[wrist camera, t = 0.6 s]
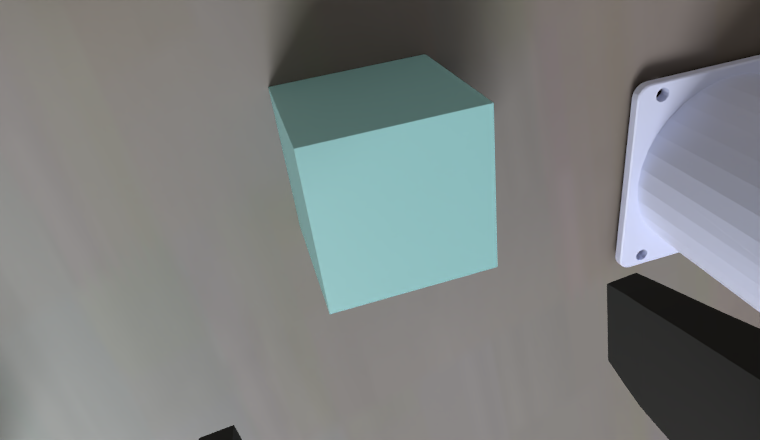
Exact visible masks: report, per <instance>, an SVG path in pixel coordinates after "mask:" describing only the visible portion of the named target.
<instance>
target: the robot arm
mask: <svg viewBox="0 0 760 440" xmlns="http://www.w3.org/2000/svg"><path fill="white" fill-rule="evenodd" d="M660 89H662V91H661V94H660V95H659V96H658V97H657V98H656V96H657V93H658V92H659V90H660ZM639 251H640V252H639ZM638 252H639V253H638ZM678 252H680V253H681V254H683V255H684V256H685V257H687V258H688V259H689V260H691V261H692V262H693V263H695V264H696V265H697V266H699V267H700V268H701V269H703V270H704V271H705V272H707V273H708V274H709V275H711V276H712V277H713V278H715V279H716V280H717V281H719V282H720V283H721V284H723V285H724V286H725V287H727V288H728V289H729V290H731V291H732V292H733V293H735V294H736V295H737V296H739V297H740V298H741V299H743V300H744V301H745V302H747V303H748V304H749V305H751V306H752V307H753V308H755V309H756V310H757V311H759V312H760V55H756V56H752V57H748V58H744V59H739V60H735V61H731V62H727V63H722V64H718V65H714V66H709V67H705V68H701V69H697V70H692V71H688V72H684V73H680V74H675V75H671V76H667V77H663V78H658V79H654V80H650V81H646V82H643V83H641V84H640V85H639V86H638V87H637V88H636V89H635V91H634V92H633V96H632V102H631V112H630V122H629V131H628V141H627V150H626V160H625V170H624V179H623V189H622V198H621V208H620V218H619V227H618V237H617V247H616V256H615V257H616V261H617V262H618V263H619V264H620V265H621V266H623V267H631V266H634V265H637V264H641V263H644V262H648V261H651V260H654V259H658V258H661V257H664V256H668V255H671V254H675V253H678ZM637 253H638V254H637ZM607 309H608V360H609V362H610V363H611V365H612V366H613V368H614V369H615V371H616V372H617V374H618V375H619V377H620V378H621V380H622V381H623V383H624V384H625V386H626V387H627V388H628V390H629V391H630V393H631V394H632V395H633V397H634V398H635V400H636V401H637V402H638V404H639V405H640V407H641V408H642V409H643V410H644V411H645V412H646V414H647V415H648V416H649V417H650V418H651V419H652V421H653V422H654V423H655V424H656V425H657V426H658V427H659V428H660V430H661V431H662V432H663V433H664V434H665V435H666V436H667V438H668V439H669V440H760V329H759V328H757V327H754V326H752V325H750V324H748V323H745V322H743V321H741V320H738V319H736V318H734V317H732V316H730V315H727V314H725V313H723V312H721V311H718V310H716V309H714V308H712V307H710V306H707V305H705V304H703V303H701V302H699V301H697V300H694V299H692V298H690V297H688V296H686V295H684V294H681V293H679V292H677V291H675V290H673V289H671V288H669V287H666V286H664V285H662V284H660V283H658V282H656V281H653V280H651V279H649V278H647V277H644V276H642V275H640V274H638V273H635V274H632V275H629V276H627V277H624V278H621V279H619V280H616V281H614V282H611V283H608V284H607ZM199 440H242V439H241V437H240V435H239V434H238V432H237V430H236V428H235V426H234V425H233V426H230V427H227V428H225V429H222V430H220V431H217V432H214V433H212V434H209V435H206V436H204V437H201V438H199Z"/></svg>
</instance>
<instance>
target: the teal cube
mask: <svg viewBox="0 0 760 440" xmlns="http://www.w3.org/2000/svg"><path fill="white" fill-rule="evenodd" d="M268 88H269V92H270V97H271V101H272V105H273V110H274V114H275V118H276V123H277V127H278V132H279V136H280V140H281V145H282V149H283V153H284V158H285V162H286V166H287V171H288V175H289V180H290V184H291V188H292V193H293V197H294V201H295V206H296V210H297V214H298V219H299V223H300V227H301V230H302V233H303V236H304V239H305V242H306V245H307V248H308V251H309V254H310V257H311V260H312V263H313V266H314V269H315V272H316V275H317V278H318V281H319V284H320V287H321V290H322V292H323V295H324V298H325V301H326V304H327V307H328V310H329V313H330V314H333V313H336V312H340V311H343V310H347V309H350V308H354V307H357V306H361V305H364V304H368V303H371V302H375V301H379V300H382V299H386V298H389V297H393V296H396V295H400V294H403V293H407V292H410V291H414V290H417V289H421V288H425V287H428V286H432V285H435V284H439V283H442V282H446V281H449V280H453V279H456V278H460V277H463V276H467V275H470V274H474V273H478V272H481V271H485V270H488V269H492V268H495V267H497V226H496V183H495V141H494V103H493V102H492V101H490V100H489V99H487V98H486V97H485V96H483V95H482V94H480V93H479V92H478V91H476V90H475V89H473V88H472V87H471V86H469V85H468V84H466V83H465V82H464V81H462V80H461V79H459V78H458V77H457V76H455V75H454V74H453V73H451V72H450V71H448V70H447V69H446V68H444V67H443V66H441V65H440V64H439V63H437V62H436V61H434V60H433V59H432V58H430V57H429V56H427V55H426V54H423V55H419V56H414V57H409V58H404V59H400V60H395V61H390V62H385V63H380V64H376V65H371V66H366V67H361V68H357V69H352V70H347V71H342V72H337V73H333V74H328V75H323V76H318V77H314V78H309V79H304V80H299V81H295V82H290V83H285V84H280V85H275V86H271V87H268Z"/></svg>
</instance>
